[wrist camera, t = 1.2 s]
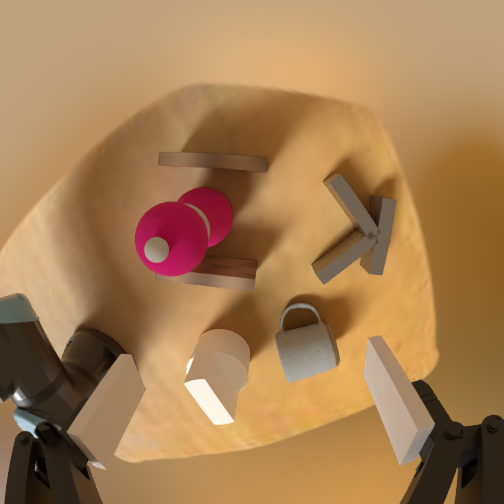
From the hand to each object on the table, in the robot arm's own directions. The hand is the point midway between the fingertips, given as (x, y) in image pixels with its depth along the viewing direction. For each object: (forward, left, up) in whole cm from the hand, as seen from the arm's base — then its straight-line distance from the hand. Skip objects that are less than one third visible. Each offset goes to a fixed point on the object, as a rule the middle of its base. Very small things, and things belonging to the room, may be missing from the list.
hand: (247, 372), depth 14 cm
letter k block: (+11, +4, -25) cm, 28 cm away
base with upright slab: (-4, -18, -25) cm, 31 cm away
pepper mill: (-7, +4, -25) cm, 27 cm away
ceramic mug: (+8, -12, -25) cm, 29 cm away
